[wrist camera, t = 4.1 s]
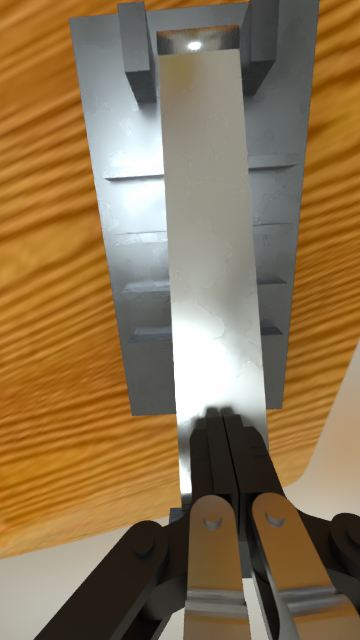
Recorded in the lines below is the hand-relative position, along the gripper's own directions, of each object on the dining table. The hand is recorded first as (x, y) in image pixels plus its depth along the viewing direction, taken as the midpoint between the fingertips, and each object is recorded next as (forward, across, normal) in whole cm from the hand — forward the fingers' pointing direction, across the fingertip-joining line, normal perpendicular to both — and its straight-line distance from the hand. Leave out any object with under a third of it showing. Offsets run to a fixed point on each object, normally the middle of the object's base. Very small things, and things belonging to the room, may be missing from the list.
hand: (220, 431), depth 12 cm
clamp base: (+13, 0, -6) cm, 14 cm away
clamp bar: (+4, 0, -6) cm, 7 cm away
